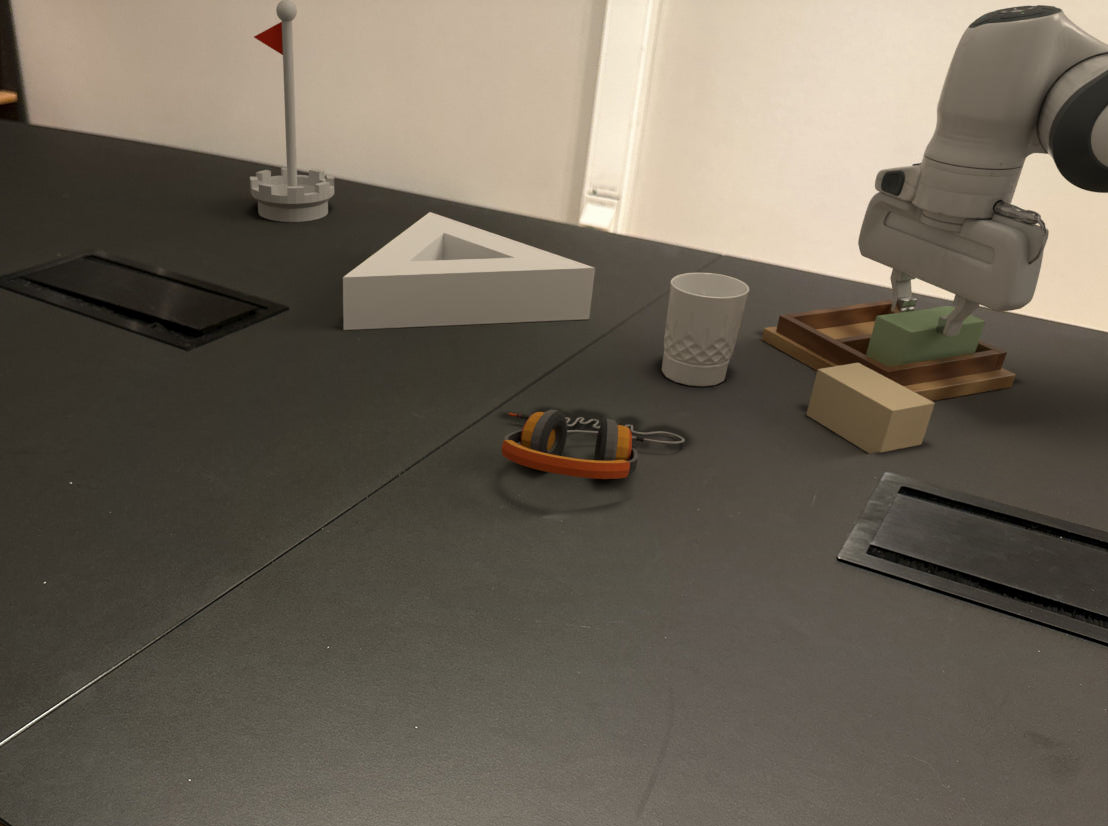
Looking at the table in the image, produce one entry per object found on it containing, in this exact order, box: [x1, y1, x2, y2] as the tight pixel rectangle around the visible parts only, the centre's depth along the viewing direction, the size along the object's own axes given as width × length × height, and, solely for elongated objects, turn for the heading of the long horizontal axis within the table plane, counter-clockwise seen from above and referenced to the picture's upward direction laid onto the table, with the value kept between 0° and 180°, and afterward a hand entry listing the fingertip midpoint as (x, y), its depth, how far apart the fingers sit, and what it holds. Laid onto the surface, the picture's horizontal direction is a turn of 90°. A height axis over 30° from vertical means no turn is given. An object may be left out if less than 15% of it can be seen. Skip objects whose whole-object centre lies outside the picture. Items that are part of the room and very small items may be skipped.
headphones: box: [501, 409, 685, 480], centre depth 95 cm, size 17×5×20 cm
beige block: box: [806, 363, 935, 454], centre depth 101 cm, size 10×5×5 cm, turn 21°
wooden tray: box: [761, 299, 1017, 402], centre depth 116 cm, size 17×20×4 cm
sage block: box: [866, 305, 986, 367], centre depth 112 cm, size 10×5×5 cm, turn 110°
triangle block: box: [342, 211, 596, 331], centre depth 129 cm, size 30×26×6 cm
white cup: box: [661, 272, 750, 387], centre depth 111 cm, size 8×8×10 cm
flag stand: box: [249, 0, 335, 223], centre depth 157 cm, size 13×13×30 cm
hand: (923, 323), depth 111 cm, fingers closed on sage block, 5 cm apart
